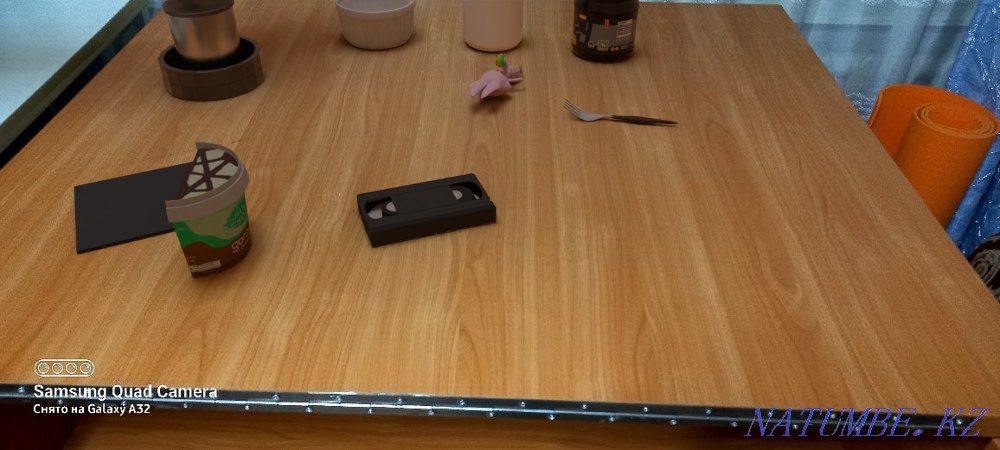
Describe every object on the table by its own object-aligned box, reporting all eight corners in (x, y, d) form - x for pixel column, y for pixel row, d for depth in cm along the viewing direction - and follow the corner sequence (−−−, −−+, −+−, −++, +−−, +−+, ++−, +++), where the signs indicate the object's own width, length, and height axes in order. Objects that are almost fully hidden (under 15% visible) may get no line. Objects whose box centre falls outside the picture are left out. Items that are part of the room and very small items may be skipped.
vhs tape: (473, 186, 90) (473, 172, 89) (496, 222, 84) (496, 207, 83) (357, 208, 86) (355, 194, 85) (372, 247, 80) (370, 232, 79)
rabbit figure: (494, 80, 118) (455, 105, 105) (496, 42, 115) (457, 63, 102) (531, 86, 116) (496, 112, 103) (534, 48, 113) (499, 70, 100)
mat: (74, 188, 89) (73, 186, 88) (197, 163, 94) (196, 160, 93) (77, 254, 78) (76, 251, 78) (214, 221, 84) (213, 218, 83)
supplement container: (580, 35, 129) (585, -34, 122) (640, 44, 126) (648, -27, 119) (562, 58, 121) (567, -15, 114) (625, 68, 118) (634, -7, 111)
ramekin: (403, 20, 135) (401, -19, 131) (428, 46, 125) (426, 5, 121) (331, 30, 130) (326, -9, 126) (351, 58, 121) (346, 16, 117)
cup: (480, 28, 132) (480, -29, 126) (531, 38, 128) (533, -20, 123) (453, 47, 125) (451, -12, 119) (506, 58, 121) (507, -2, 115)
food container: (251, 284, 75) (231, 202, 69) (188, 287, 74) (163, 204, 68) (271, 214, 85) (255, 137, 79) (216, 216, 84) (196, 139, 78)
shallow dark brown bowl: (161, 73, 115) (153, 43, 112) (256, 58, 120) (250, 28, 117) (172, 112, 105) (163, 80, 102) (275, 93, 110) (269, 62, 107)
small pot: (179, 73, 114) (158, -4, 107) (242, 62, 117) (227, -13, 110) (187, 98, 107) (166, 17, 100) (254, 86, 110) (239, 7, 103)
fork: (677, 131, 102) (679, 118, 101) (562, 119, 104) (563, 106, 103) (677, 122, 104) (679, 109, 103) (564, 110, 106) (565, 98, 105)
